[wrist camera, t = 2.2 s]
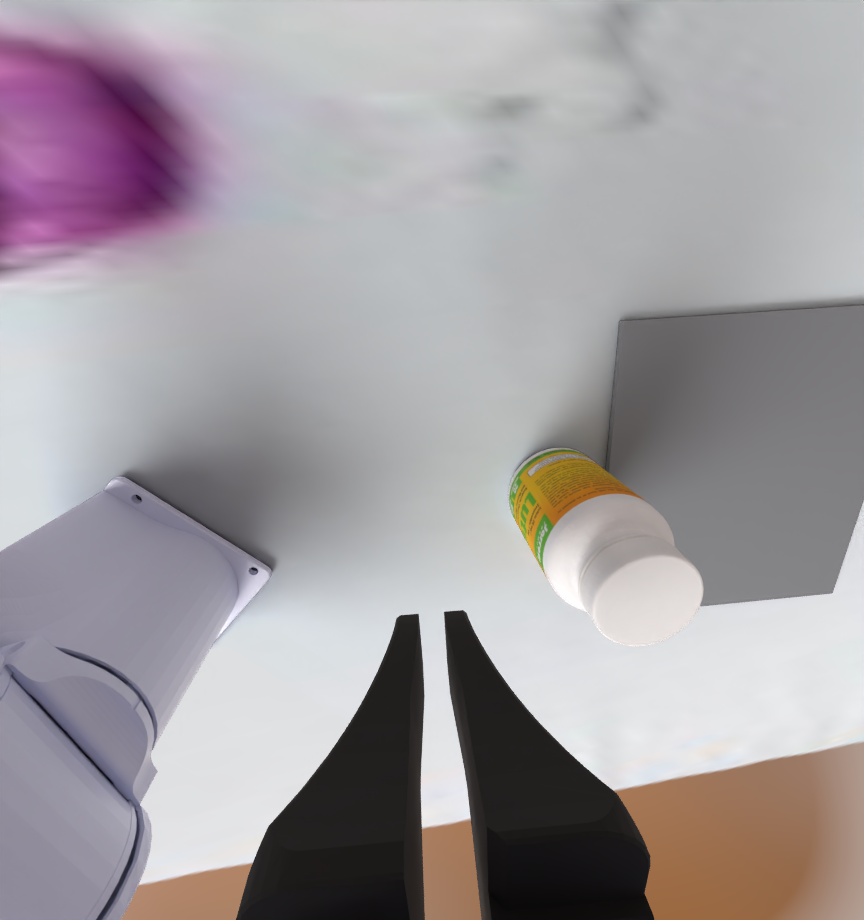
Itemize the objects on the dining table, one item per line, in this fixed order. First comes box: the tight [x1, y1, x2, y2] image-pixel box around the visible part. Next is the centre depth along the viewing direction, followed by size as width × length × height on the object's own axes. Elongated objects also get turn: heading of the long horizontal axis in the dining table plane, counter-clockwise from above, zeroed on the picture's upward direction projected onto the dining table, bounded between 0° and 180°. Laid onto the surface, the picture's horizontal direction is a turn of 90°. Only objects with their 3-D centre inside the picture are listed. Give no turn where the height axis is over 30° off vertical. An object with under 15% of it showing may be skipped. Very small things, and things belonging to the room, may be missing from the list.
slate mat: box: [606, 305, 864, 606], centre depth 24 cm, size 16×18×1 cm
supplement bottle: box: [508, 448, 704, 646], centre depth 19 cm, size 5×5×10 cm
